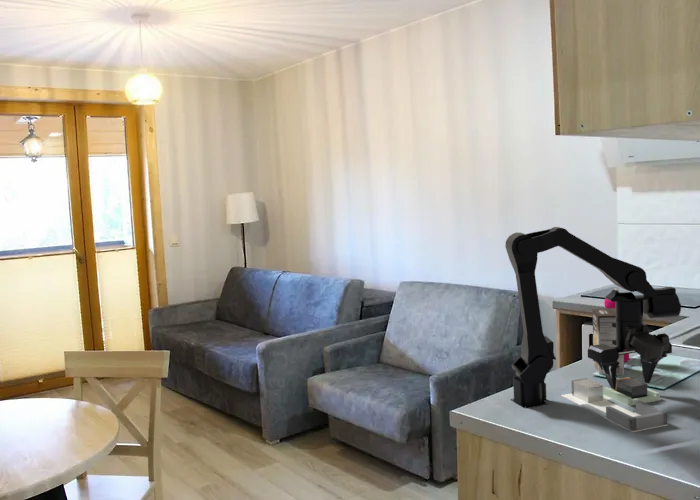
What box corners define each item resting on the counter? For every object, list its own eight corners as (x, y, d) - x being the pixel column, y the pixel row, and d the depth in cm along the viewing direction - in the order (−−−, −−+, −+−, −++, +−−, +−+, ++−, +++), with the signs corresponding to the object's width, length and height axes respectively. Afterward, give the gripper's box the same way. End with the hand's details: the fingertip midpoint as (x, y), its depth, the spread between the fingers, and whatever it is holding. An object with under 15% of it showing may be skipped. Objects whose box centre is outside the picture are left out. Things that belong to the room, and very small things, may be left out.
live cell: (632, 402, 141) (632, 386, 141) (614, 394, 147) (614, 379, 147) (647, 399, 142) (647, 384, 142) (628, 391, 148) (628, 377, 148)
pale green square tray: (627, 408, 139) (627, 399, 139) (601, 395, 148) (601, 387, 148) (661, 402, 142) (661, 393, 141) (633, 390, 150) (633, 381, 150)
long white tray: (632, 434, 125) (632, 419, 125) (560, 397, 148) (560, 384, 148) (668, 427, 128) (668, 412, 127) (592, 392, 151) (591, 379, 150)
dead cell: (588, 403, 142) (587, 388, 142) (571, 395, 148) (571, 380, 148) (603, 400, 143) (602, 385, 143) (586, 392, 149) (586, 378, 149)
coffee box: (592, 366, 171) (591, 308, 169) (617, 366, 169) (616, 307, 168) (599, 376, 162) (597, 315, 160) (625, 377, 160) (624, 315, 159)
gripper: (618, 331, 133) (620, 403, 134) (691, 321, 138) (691, 390, 139) (585, 321, 143) (586, 388, 145) (653, 312, 148) (654, 376, 150)
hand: (630, 386), depth 144 cm, fingers open, 9 cm apart
